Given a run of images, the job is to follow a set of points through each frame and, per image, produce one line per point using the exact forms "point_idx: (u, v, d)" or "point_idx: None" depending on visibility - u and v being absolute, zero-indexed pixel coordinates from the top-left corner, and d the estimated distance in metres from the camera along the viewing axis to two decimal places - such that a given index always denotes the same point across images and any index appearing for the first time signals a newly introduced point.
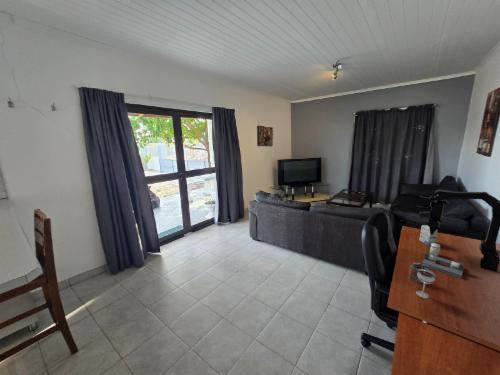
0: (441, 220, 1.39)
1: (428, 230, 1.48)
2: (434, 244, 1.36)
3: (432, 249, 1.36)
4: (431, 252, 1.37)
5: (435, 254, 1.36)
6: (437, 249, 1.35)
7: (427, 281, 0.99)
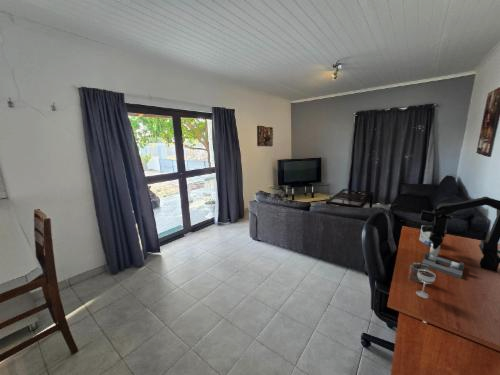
0: (444, 234, 1.37)
1: None
2: None
3: (432, 249, 1.36)
4: (431, 252, 1.37)
5: (435, 254, 1.36)
6: (437, 249, 1.35)
7: (427, 281, 0.99)
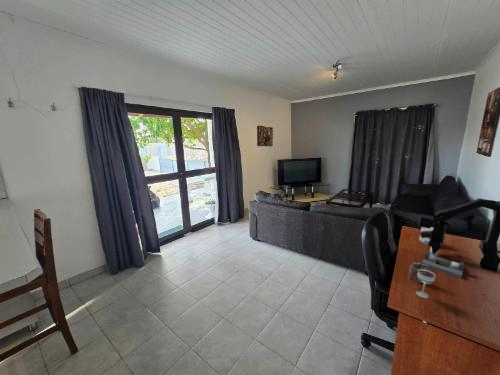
0: (442, 241, 1.37)
1: (428, 230, 1.48)
2: None
3: None
4: (431, 252, 1.37)
5: (435, 254, 1.36)
6: None
7: (427, 281, 0.99)
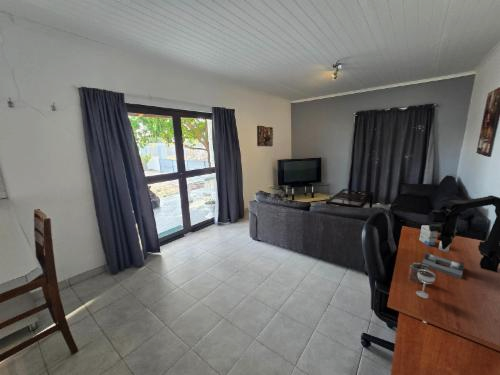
0: (453, 236, 1.24)
1: (428, 230, 1.48)
2: None
3: None
4: (440, 247, 1.24)
5: (445, 249, 1.23)
6: None
7: (427, 281, 0.99)
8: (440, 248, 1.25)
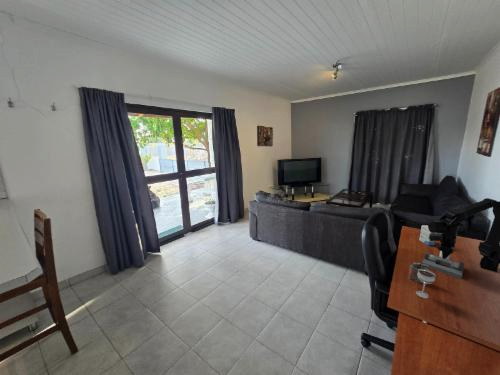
0: (453, 245, 1.23)
1: (428, 230, 1.48)
2: None
3: None
4: (441, 257, 1.23)
5: (445, 259, 1.22)
6: None
7: (427, 281, 0.99)
8: (440, 258, 1.24)
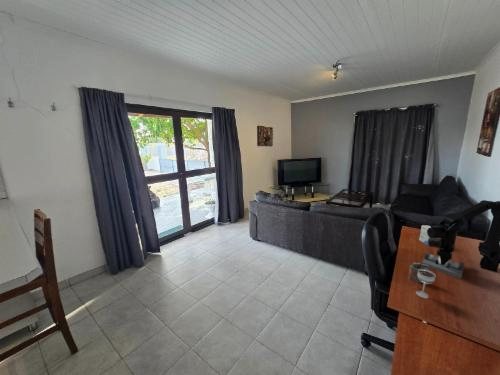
0: (452, 249, 1.25)
1: None
2: None
3: (440, 261, 1.24)
4: (439, 264, 1.25)
5: (444, 266, 1.23)
6: None
7: (427, 281, 0.99)
8: None
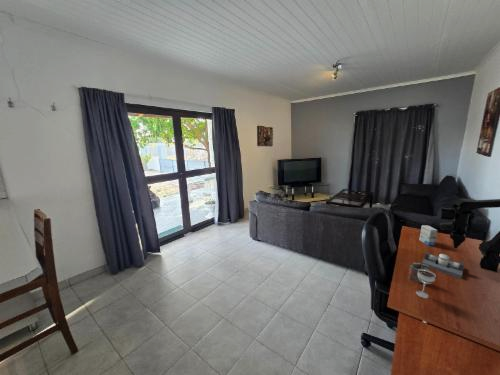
0: None
1: (428, 230, 1.48)
2: (442, 255, 1.24)
3: (440, 261, 1.24)
4: (439, 264, 1.25)
5: (444, 266, 1.23)
6: (446, 261, 1.22)
7: (427, 281, 0.99)
8: None
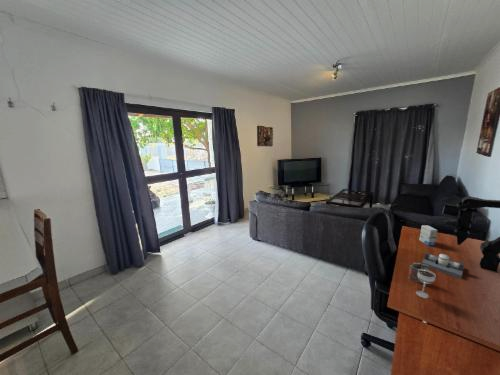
0: (468, 229, 1.30)
1: (428, 230, 1.48)
2: (442, 255, 1.24)
3: (440, 261, 1.24)
4: (439, 264, 1.25)
5: (444, 266, 1.23)
6: (446, 261, 1.22)
7: (427, 281, 0.99)
8: None
